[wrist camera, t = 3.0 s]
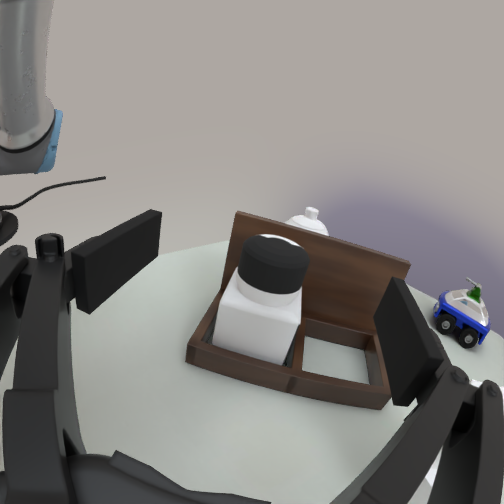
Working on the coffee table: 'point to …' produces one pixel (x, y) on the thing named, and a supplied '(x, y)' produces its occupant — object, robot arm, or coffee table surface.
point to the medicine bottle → (263, 299)
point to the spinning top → (308, 221)
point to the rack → (312, 316)
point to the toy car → (463, 314)
